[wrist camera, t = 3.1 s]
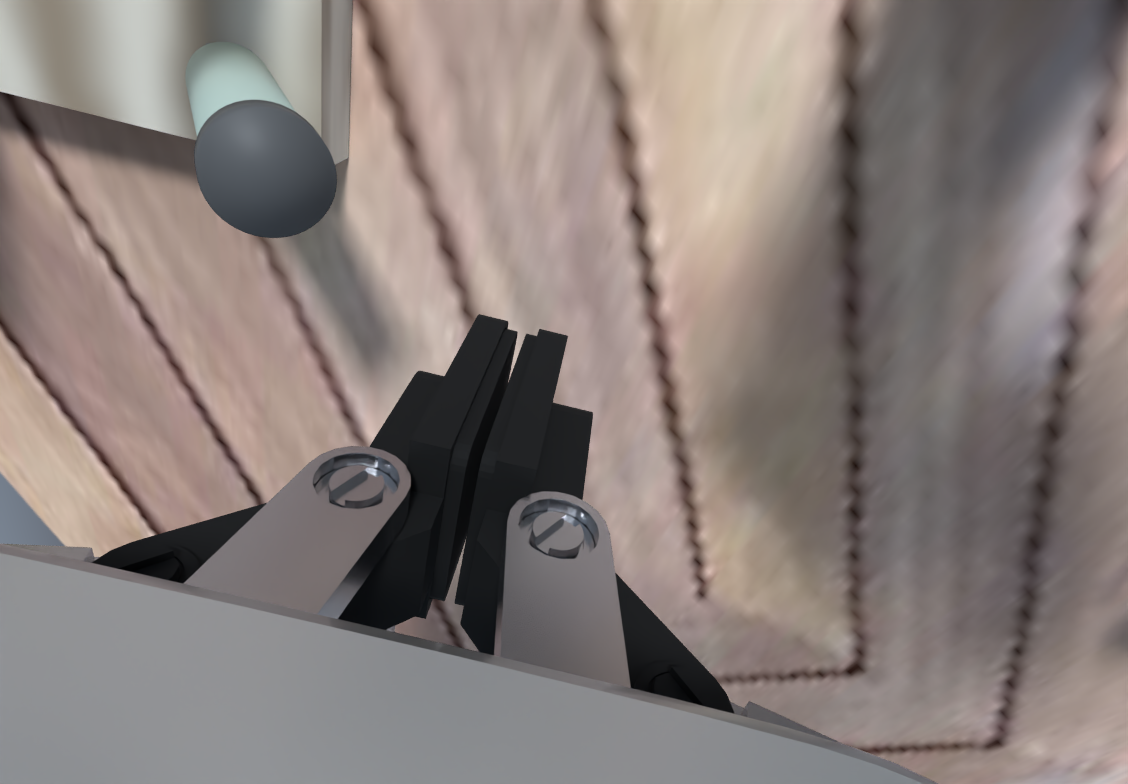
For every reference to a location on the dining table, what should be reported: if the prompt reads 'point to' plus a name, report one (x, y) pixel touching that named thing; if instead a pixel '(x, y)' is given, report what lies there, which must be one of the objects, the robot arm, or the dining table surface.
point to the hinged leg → (255, 146)
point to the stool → (175, 56)
